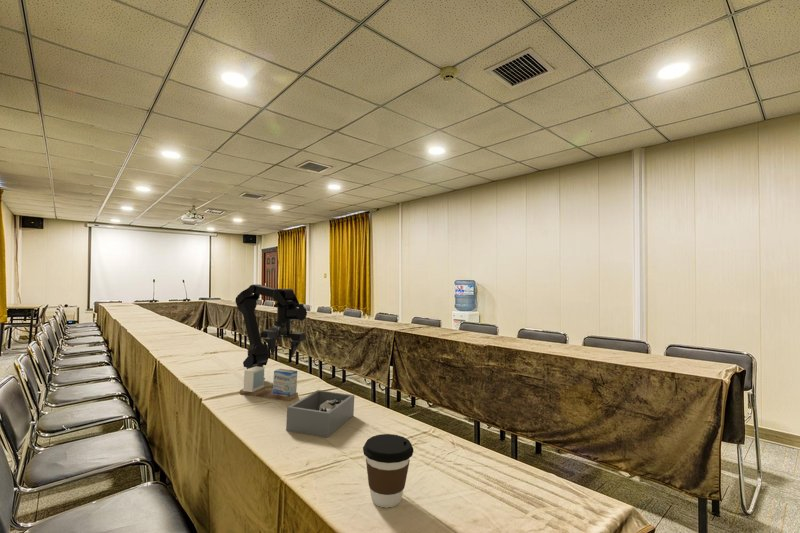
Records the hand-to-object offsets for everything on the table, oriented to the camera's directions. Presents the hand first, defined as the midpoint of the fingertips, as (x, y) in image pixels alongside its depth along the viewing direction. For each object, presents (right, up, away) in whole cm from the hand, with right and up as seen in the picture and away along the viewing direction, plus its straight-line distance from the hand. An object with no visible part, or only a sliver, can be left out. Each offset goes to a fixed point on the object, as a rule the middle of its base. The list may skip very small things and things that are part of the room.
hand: (282, 355), depth 160 cm
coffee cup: (+46, -13, -78) cm, 92 cm away
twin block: (-8, -11, -9) cm, 17 cm away
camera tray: (+24, -13, -37) cm, 46 cm away
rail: (-2, -13, -11) cm, 17 cm away
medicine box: (+5, -11, -13) cm, 18 cm away
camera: (+26, -13, -40) cm, 49 cm away
